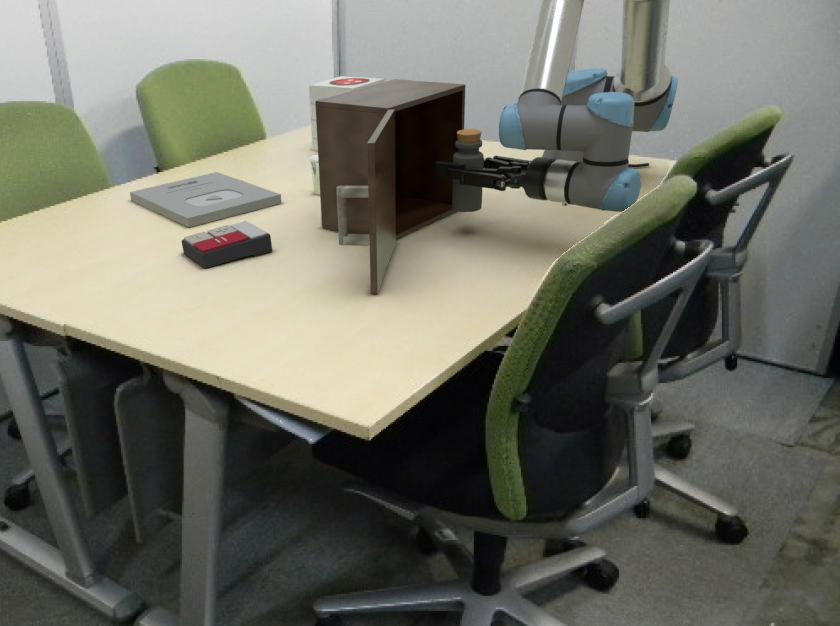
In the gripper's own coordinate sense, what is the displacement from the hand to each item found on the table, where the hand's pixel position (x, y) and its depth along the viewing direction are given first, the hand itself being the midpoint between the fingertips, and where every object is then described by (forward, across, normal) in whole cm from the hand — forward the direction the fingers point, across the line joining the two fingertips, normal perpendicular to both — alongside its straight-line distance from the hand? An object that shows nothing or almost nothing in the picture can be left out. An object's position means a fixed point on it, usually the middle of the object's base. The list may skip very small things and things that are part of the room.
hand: (445, 165), depth 170 cm
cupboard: (+13, -1, -13) cm, 18 cm away
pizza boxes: (+56, +42, -13) cm, 72 cm away
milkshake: (+40, +7, -13) cm, 42 cm away
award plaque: (+59, -14, -13) cm, 62 cm away
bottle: (-5, 0, -8) cm, 10 cm away
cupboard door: (-1, -27, -13) cm, 30 cm away
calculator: (+28, -36, -13) cm, 47 cm away
